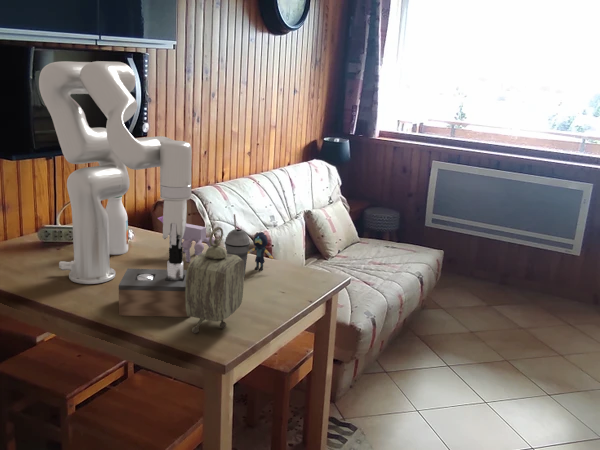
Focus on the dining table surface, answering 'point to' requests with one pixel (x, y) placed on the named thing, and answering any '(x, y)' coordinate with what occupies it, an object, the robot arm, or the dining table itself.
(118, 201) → the milk bottle
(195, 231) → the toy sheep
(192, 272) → the tabletop clock
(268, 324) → the dining table surface
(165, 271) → the peg block
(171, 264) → the right peg
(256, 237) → the character figure
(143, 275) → the left peg
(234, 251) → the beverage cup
